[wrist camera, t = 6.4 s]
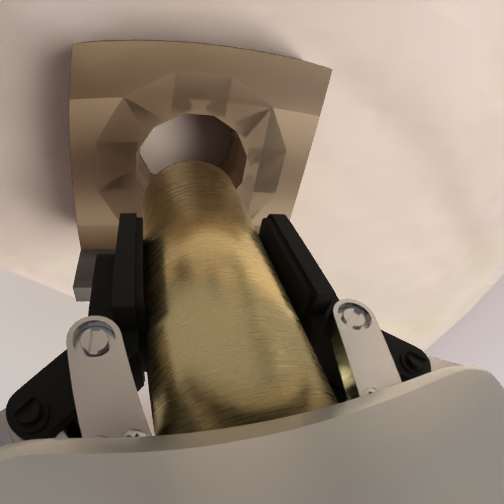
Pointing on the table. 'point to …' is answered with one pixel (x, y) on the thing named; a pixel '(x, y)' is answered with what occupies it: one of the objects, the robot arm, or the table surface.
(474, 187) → the table surface
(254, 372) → the gold cylinder
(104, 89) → the jig
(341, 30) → the table surface
